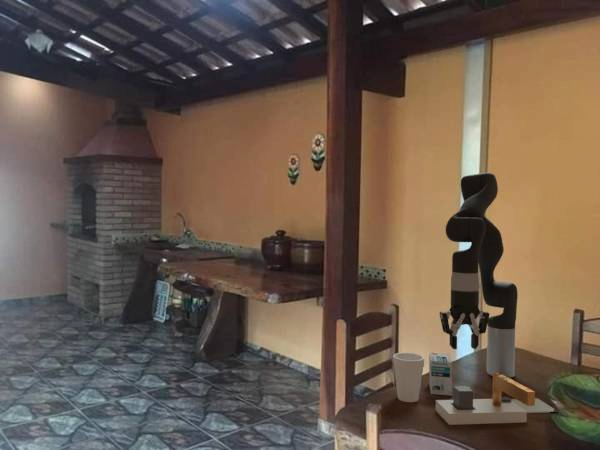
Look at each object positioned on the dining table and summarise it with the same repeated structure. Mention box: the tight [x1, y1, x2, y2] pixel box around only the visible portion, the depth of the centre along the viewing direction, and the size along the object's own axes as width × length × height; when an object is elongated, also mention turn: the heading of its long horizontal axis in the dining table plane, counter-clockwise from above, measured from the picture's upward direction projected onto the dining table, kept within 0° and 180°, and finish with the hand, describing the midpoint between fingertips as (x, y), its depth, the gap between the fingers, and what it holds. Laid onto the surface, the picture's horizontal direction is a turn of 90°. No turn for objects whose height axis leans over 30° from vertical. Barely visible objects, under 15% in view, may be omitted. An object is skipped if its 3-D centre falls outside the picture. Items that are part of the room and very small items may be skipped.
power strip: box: [435, 396, 528, 426], centre depth 140 cm, size 10×22×4 cm, turn 96°
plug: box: [452, 385, 474, 410], centre depth 140 cm, size 4×4×8 cm
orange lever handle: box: [491, 372, 536, 406], centre depth 134 cm, size 2×16×9 cm, turn 11°
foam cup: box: [392, 352, 425, 403], centre depth 153 cm, size 10×9×13 cm
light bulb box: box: [428, 352, 453, 397], centre depth 162 cm, size 11×7×11 cm, turn 168°
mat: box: [510, 398, 555, 414], centre depth 148 cm, size 10×10×1 cm
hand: (463, 348), depth 139 cm, fingers open, 5 cm apart
